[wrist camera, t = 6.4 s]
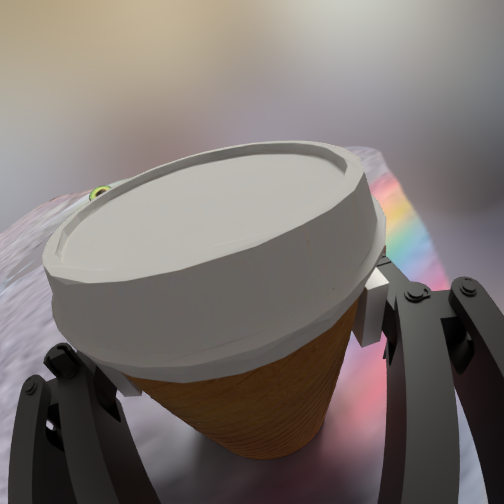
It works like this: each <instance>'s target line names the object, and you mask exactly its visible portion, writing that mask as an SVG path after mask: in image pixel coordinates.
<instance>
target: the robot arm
mask: <svg viewBox="0 0 504 504" xmlns="http://www.w3.org/2000/svg"><path fill="white" fill-rule="evenodd" d="M352 331H353V333H354V335H355V337H356V339H357V340H358V342H359V344H360V346H361V348H362V347H365V346H368V345H370V344H373V343H376V342H379V341H380V338H381V333H382V331H383V333H384V334H385V336H386V337H387V342H386V347H385V351H384V355H383V359H386V366H387V413H386V435H385V448H384V460H383V469H382V477H381V485H380V492H379V498H378V504H458V494H459V474H460V449H459V428H458V416H457V406H456V397H455V390H454V387H455V389H456V392H457V394H458V397H459V399H460V402H461V405H462V407H463V410H464V413H465V416H466V419H467V422H468V425H469V428H470V431H471V434H472V437H473V440H474V444H475V447H476V450H477V454H478V458H479V462H480V465H481V470H482V474H483V478H484V483H485V488H486V493H487V498H488V504H504V315H503V314H502V312H501V311H500V310H499V308H498V307H497V306H496V304H495V303H494V301H493V300H492V298H491V297H490V296H489V295H488V293H487V292H486V290H485V289H484V288H483V287H482V285H481V284H480V283H479V282H477V281H476V280H474V279H472V278H469V277H459V278H456V279H455V280H454V281H453V282H452V285H451V289H450V290H442V291H431V289H430V288H429V287H427V286H426V285H424V284H422V283H419V282H410V281H409V280H408V278H407V277H406V276H405V275H404V274H403V273H402V272H401V271H400V270H399V269H398V268H397V267H396V266H395V264H394V263H393V262H391V260H390V259H389V258H388V257H386V255H385V254H384V253H383V256H382V258H381V259H380V261H379V263H378V264H377V266H376V268H375V269H374V271H373V273H372V274H371V276H370V278H369V279H368V281H367V282H366V285H365V287H364V289H363V292H362V293H361V295H360V296H359V300H358V306H357V311H356V315H355V318H354V323H353V327H352ZM43 363H44V364H45V366H46V367H47V368H48V369H49V370H50V371H51V372H52V373H53V374H54V375H55V376H56V377H57V378H54V379H52V380H49V381H47V382H46V381H45V380H44V379H43V378H42V377H41V376H40V375H32V376H30V377H29V378H28V379H27V380H26V381H25V383H24V384H23V386H22V389H21V393H20V397H19V402H18V407H17V412H16V417H15V423H14V429H13V435H12V443H11V451H10V462H9V478H8V504H161V503H160V501H159V499H158V497H157V495H156V493H155V491H154V488H153V486H152V484H151V482H150V480H149V478H148V475H147V473H146V471H145V469H144V466H143V464H142V461H141V459H140V456H139V454H138V451H137V449H136V446H135V444H134V441H133V438H132V435H131V433H130V430H129V427H128V424H127V421H126V418H125V415H124V412H123V408H122V405H121V403H120V401H119V400H118V399H117V398H116V392H117V389H118V390H119V391H120V392H121V393H122V394H123V396H124V397H130V396H142V390H141V389H140V388H139V387H138V386H137V385H136V384H134V383H133V382H132V381H131V380H129V379H128V378H127V376H126V375H124V374H123V373H122V372H120V371H118V370H116V369H114V368H112V367H110V366H107V365H103V364H100V363H97V362H95V361H94V360H92V359H91V358H89V357H87V356H86V355H84V354H83V353H81V352H80V351H78V350H77V353H76V352H75V351H74V350H73V349H72V347H71V346H70V345H69V344H67V343H60V344H57V345H55V346H54V347H52V348H51V349H50V350H49V351H48V353H47V354H46V356H45V358H44V362H43ZM47 420H48V421H49V422H50V423H52V424H53V430H50V429H49V428H48V427H46V422H47Z"/></svg>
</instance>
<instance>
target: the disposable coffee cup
mask: <svg viewBox="0 0 504 504" xmlns="http://www.w3.org/2000/svg"><path fill="white" fill-rule="evenodd" d="M385 236H386V216H385V214H384V212H383V210H382V208H381V206H380V204H379V202H378V201H377V200H376V199H375V197H374V196H373V195H372V194H371V193H370V189H369V186H368V183H367V179H366V176H365V173H364V169H363V166H362V163H361V160H360V158H359V157H358V156H356V155H354V154H353V153H351V152H349V151H348V150H346V149H344V148H341V147H338V146H333V145H329V144H326V143H321V142H310V141H270V142H258V143H248V144H243V145H237V146H230V147H225V148H220V149H215V150H211V151H207V152H203V153H199V154H195V155H191V156H188V157H185V158H182V159H179V160H176V161H173V162H170V163H167V164H164V165H161V166H158V167H155V168H153V169H151V170H148V171H146V172H144V173H141V174H139V175H137V176H135V177H132V178H130V179H128V180H126V181H124V182H122V183H120V184H118V185H116V186H114V187H112V188H110V189H109V190H107V191H105V192H104V193H102V194H100V195H99V196H97V197H96V198H94V199H92V200H91V201H89V202H88V203H86V204H85V205H84V206H82V207H81V208H79V209H78V210H77V211H76V212H74V213H73V214H72V215H71V216H70V217H69V218H68V219H67V220H65V221H64V222H63V223H62V224H61V225H60V226H59V227H58V228H57V230H56V231H55V232H54V233H53V235H52V236H51V237H50V238H49V240H48V242H47V244H46V246H45V249H44V252H43V256H42V259H43V266H44V269H45V272H46V275H47V278H48V281H49V284H50V287H51V289H52V292H53V296H52V313H53V318H54V320H55V323H56V325H57V328H58V330H59V331H60V332H61V334H62V335H63V336H64V337H65V338H66V339H67V341H68V342H69V343H70V344H71V345H72V346H73V347H74V348H76V349H77V350H78V351H80V352H81V353H83V354H84V355H86V356H87V357H89V358H91V359H92V360H94V361H95V362H97V363H100V364H103V365H107V366H110V367H112V368H114V369H116V370H118V371H120V372H122V373H123V374H124V375H126V376H127V378H128V379H129V380H131V381H132V382H133V383H134V384H136V385H137V386H138V387H139V388H140V389H141V390H142V391H144V392H145V393H147V394H148V395H149V396H151V398H152V399H154V400H155V401H157V402H158V403H159V404H161V406H163V407H164V408H166V409H167V410H169V411H170V412H171V413H172V414H174V415H175V416H177V417H178V418H180V419H181V420H183V421H184V422H186V423H187V424H188V425H190V426H191V427H193V428H194V429H195V430H197V431H199V432H200V433H202V434H203V435H205V436H207V437H208V438H210V439H212V440H213V441H215V442H216V443H218V444H220V445H222V446H223V447H225V448H226V449H228V450H229V451H231V452H233V453H235V454H237V455H239V456H242V457H246V458H250V459H258V460H269V459H277V458H280V457H284V456H287V455H290V454H292V453H294V452H296V451H298V450H299V449H301V448H302V447H303V446H305V445H306V444H307V443H309V442H310V441H311V440H312V438H313V437H314V436H315V435H316V434H317V432H318V431H319V429H320V427H321V425H322V423H323V420H324V417H325V414H326V412H327V409H328V406H329V403H330V401H331V397H332V395H333V392H334V389H335V386H336V383H337V380H338V376H339V373H340V369H341V366H342V364H343V360H344V356H345V352H346V348H347V345H348V342H349V339H350V334H351V331H352V327H353V323H354V318H355V315H356V311H357V306H358V300H359V296H360V295H361V293H362V292H363V289H364V287H365V285H366V282H367V281H368V279H369V278H370V276H371V274H372V273H373V271H374V269H375V268H376V266H377V264H378V263H379V261H380V259H381V258H382V256H383V252H384V247H385Z"/></svg>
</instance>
